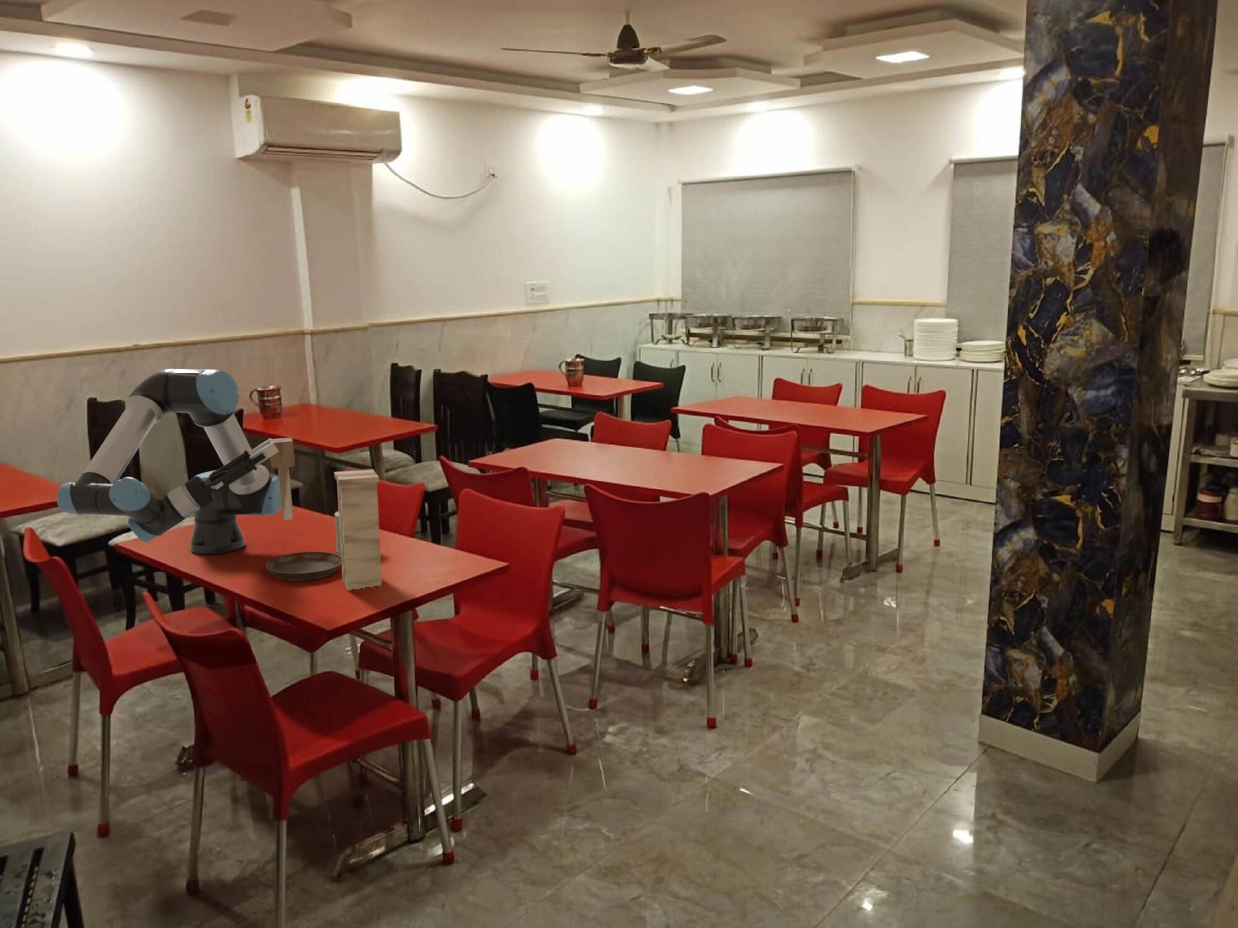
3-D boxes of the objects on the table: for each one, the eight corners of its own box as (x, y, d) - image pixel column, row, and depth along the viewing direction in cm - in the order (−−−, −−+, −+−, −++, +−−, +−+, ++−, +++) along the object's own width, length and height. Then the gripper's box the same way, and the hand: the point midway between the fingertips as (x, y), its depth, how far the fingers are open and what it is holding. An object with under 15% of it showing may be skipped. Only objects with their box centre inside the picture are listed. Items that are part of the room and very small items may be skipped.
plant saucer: (316, 556, 289) (315, 546, 288) (359, 571, 276) (358, 559, 275) (251, 573, 273) (250, 562, 272) (293, 589, 260) (293, 578, 260)
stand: (340, 579, 267) (334, 472, 261) (377, 575, 271) (372, 469, 265) (345, 591, 258) (339, 479, 252) (384, 586, 262) (378, 476, 256)
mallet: (298, 514, 257) (276, 517, 255) (290, 437, 253) (268, 439, 251) (300, 519, 252) (277, 522, 250) (292, 441, 248) (269, 443, 246)
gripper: (201, 499, 254) (280, 450, 259) (202, 517, 237) (286, 463, 242) (183, 476, 251) (263, 426, 256) (182, 492, 234) (268, 438, 240)
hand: (274, 444), depth 249 cm, fingers closed on mallet, 5 cm apart
